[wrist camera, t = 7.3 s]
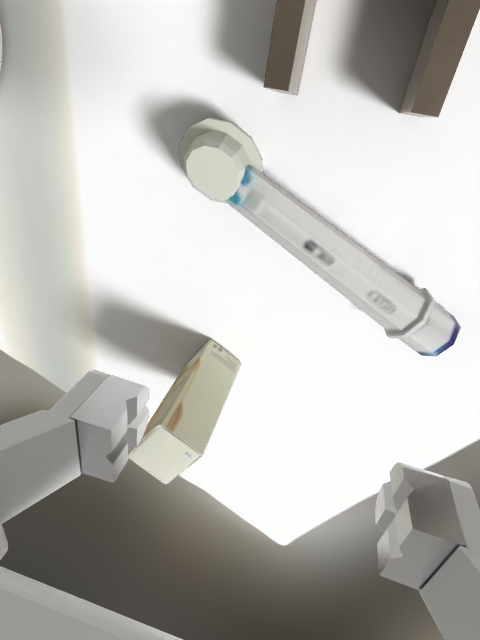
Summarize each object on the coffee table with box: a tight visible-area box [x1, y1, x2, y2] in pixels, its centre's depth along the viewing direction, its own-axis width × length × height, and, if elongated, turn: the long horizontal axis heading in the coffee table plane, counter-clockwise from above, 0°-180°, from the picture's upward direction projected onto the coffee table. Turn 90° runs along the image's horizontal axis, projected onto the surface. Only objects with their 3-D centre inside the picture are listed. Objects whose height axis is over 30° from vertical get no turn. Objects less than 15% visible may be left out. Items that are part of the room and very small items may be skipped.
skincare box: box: [128, 340, 241, 484], centre depth 34 cm, size 6×4×12 cm
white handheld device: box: [179, 118, 461, 356], centre depth 28 cm, size 5×7×25 cm
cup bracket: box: [264, 0, 480, 117], centre depth 21 cm, size 10×10×5 cm
